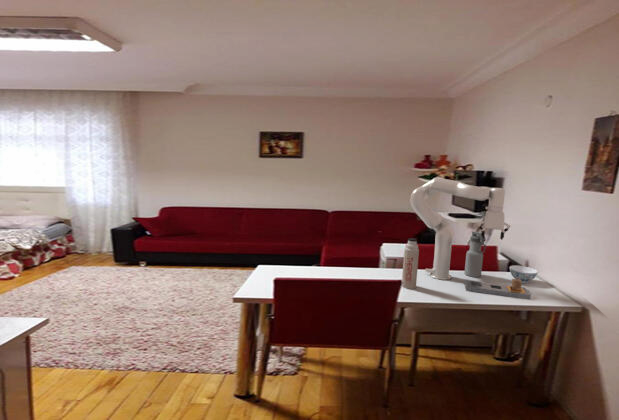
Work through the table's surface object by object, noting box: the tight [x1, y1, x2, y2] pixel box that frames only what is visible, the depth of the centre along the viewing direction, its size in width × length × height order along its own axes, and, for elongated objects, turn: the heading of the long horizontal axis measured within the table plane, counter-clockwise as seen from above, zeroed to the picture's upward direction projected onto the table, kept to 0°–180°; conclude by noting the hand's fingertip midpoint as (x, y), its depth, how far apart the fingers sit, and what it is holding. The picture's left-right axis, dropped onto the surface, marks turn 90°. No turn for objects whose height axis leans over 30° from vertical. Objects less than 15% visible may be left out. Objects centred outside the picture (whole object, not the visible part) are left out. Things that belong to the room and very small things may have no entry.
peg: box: [510, 278, 523, 291], centre depth 202 cm, size 4×4×8 cm
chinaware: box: [509, 265, 539, 284], centre depth 223 cm, size 15×15×8 cm
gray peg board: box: [463, 279, 532, 300], centre depth 205 cm, size 32×12×3 cm, turn 72°
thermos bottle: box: [401, 237, 420, 290], centre depth 206 cm, size 8×8×28 cm
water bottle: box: [464, 230, 487, 278], centre depth 230 cm, size 10×10×28 cm
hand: (492, 238), depth 211 cm, fingers open, 9 cm apart
